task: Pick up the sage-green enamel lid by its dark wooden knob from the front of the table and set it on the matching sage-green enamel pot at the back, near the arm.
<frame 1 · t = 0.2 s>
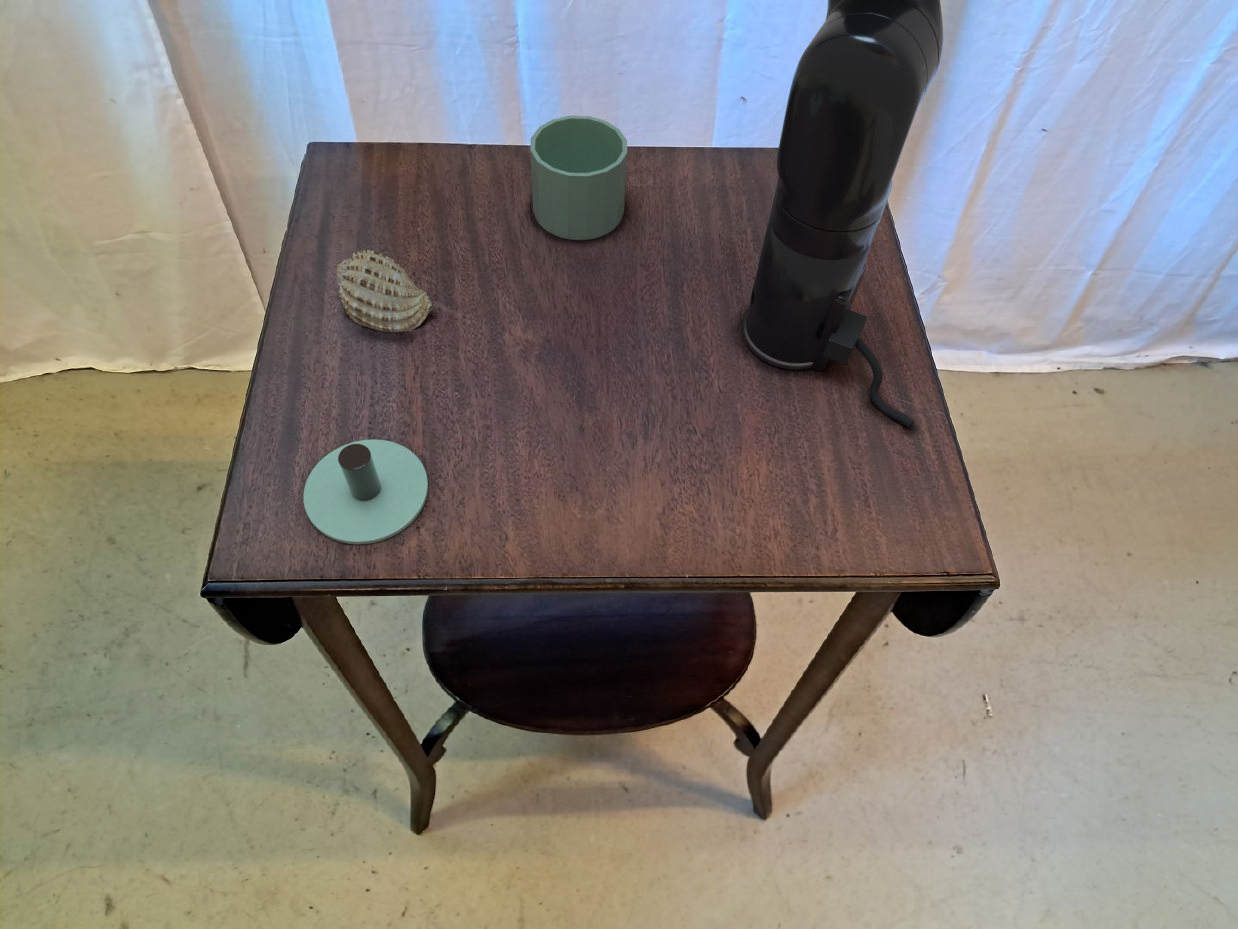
lid: (367, 491, 76), point 1 cm above the table
pot: (578, 209, 98), on the table
seashell: (387, 308, 89), on the table
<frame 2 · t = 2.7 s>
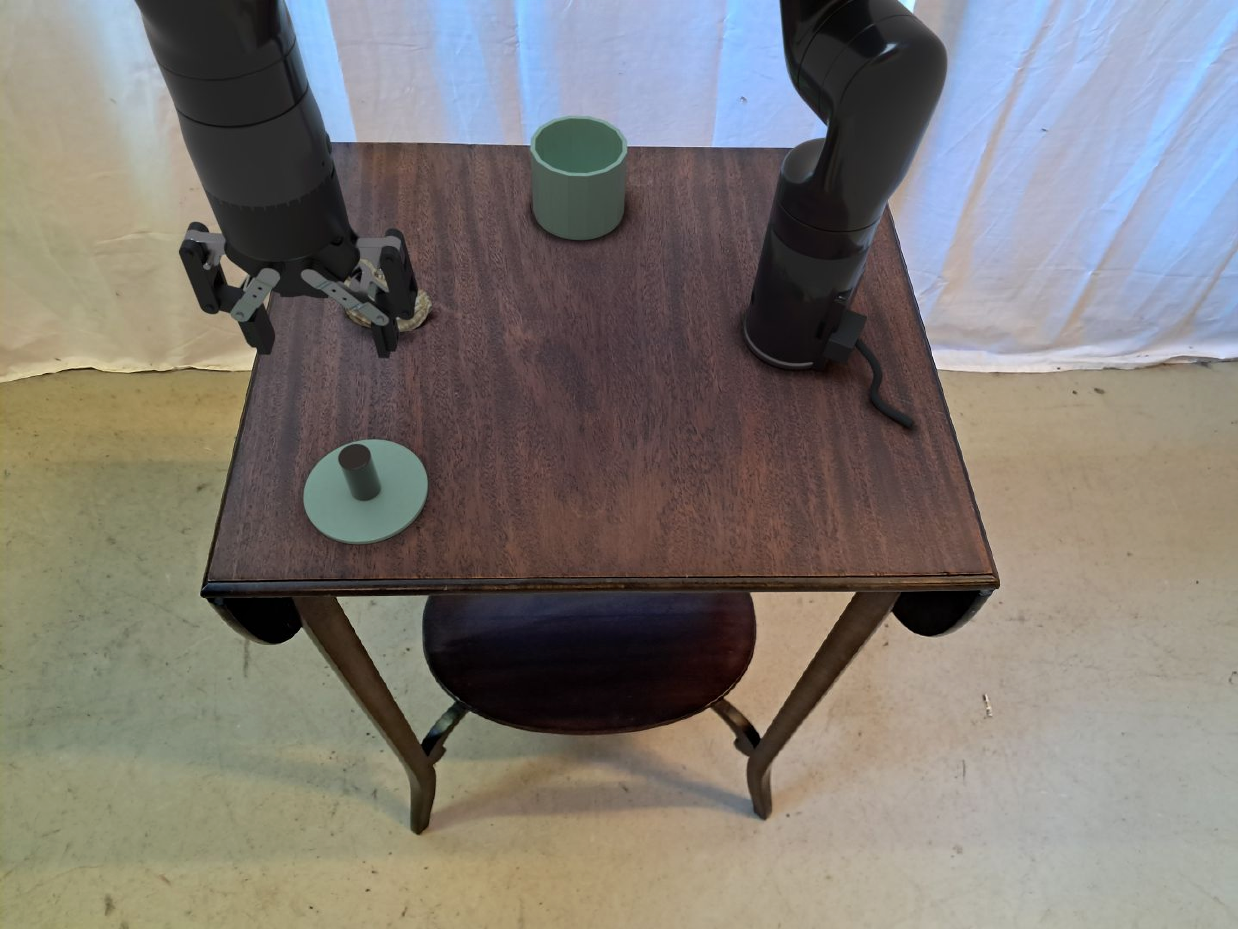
hand: (327, 348, 64), 16 cm above the table, tool pointing down, fingers open, 8 cm apart
nothing on the table moved.
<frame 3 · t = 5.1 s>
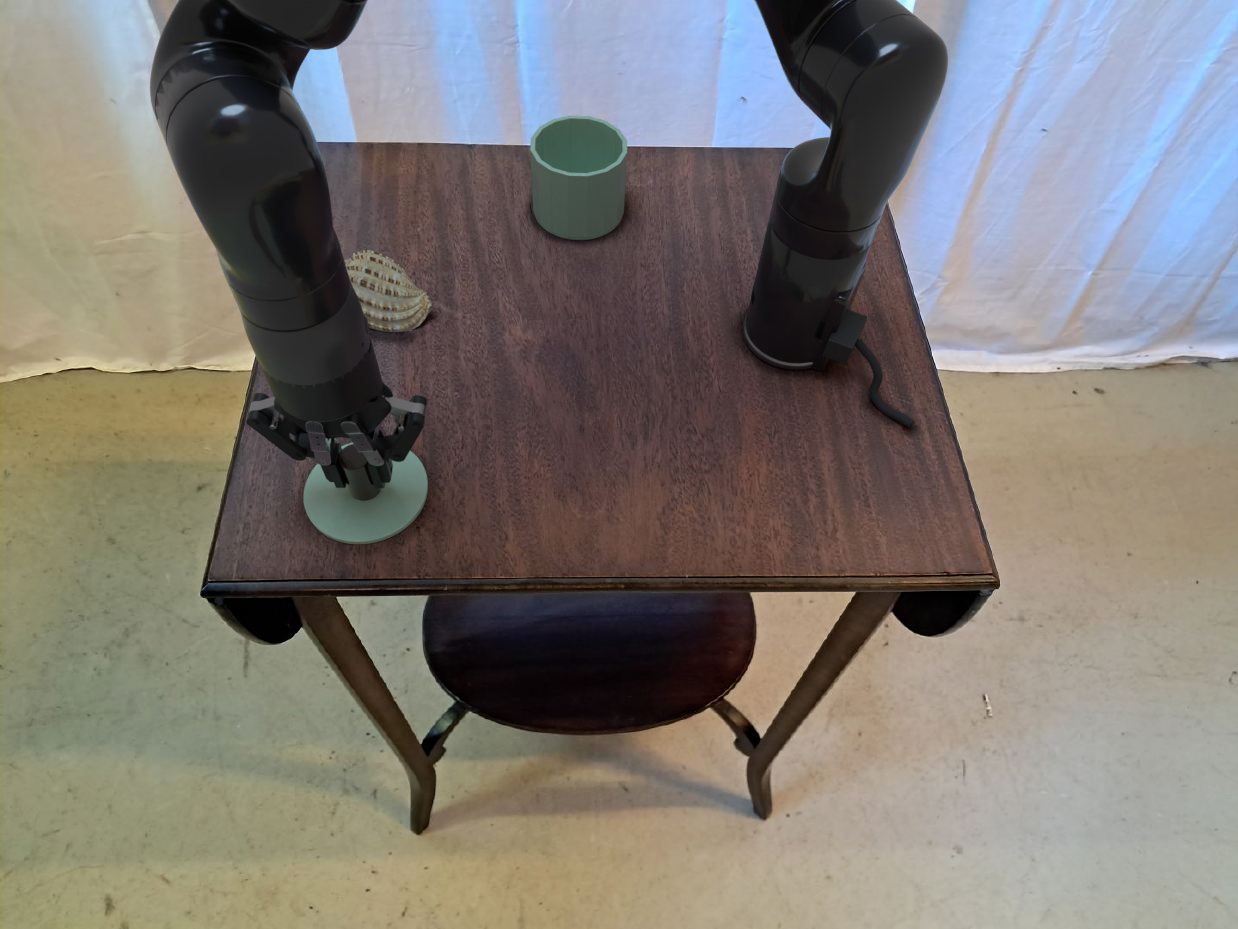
hand: (362, 478, 74), 3 cm above the table, tool pointing down, fingers closed on lid, 2 cm apart
lid: (367, 491, 76), point 1 cm above the table, touching gripper
everything else where it was.
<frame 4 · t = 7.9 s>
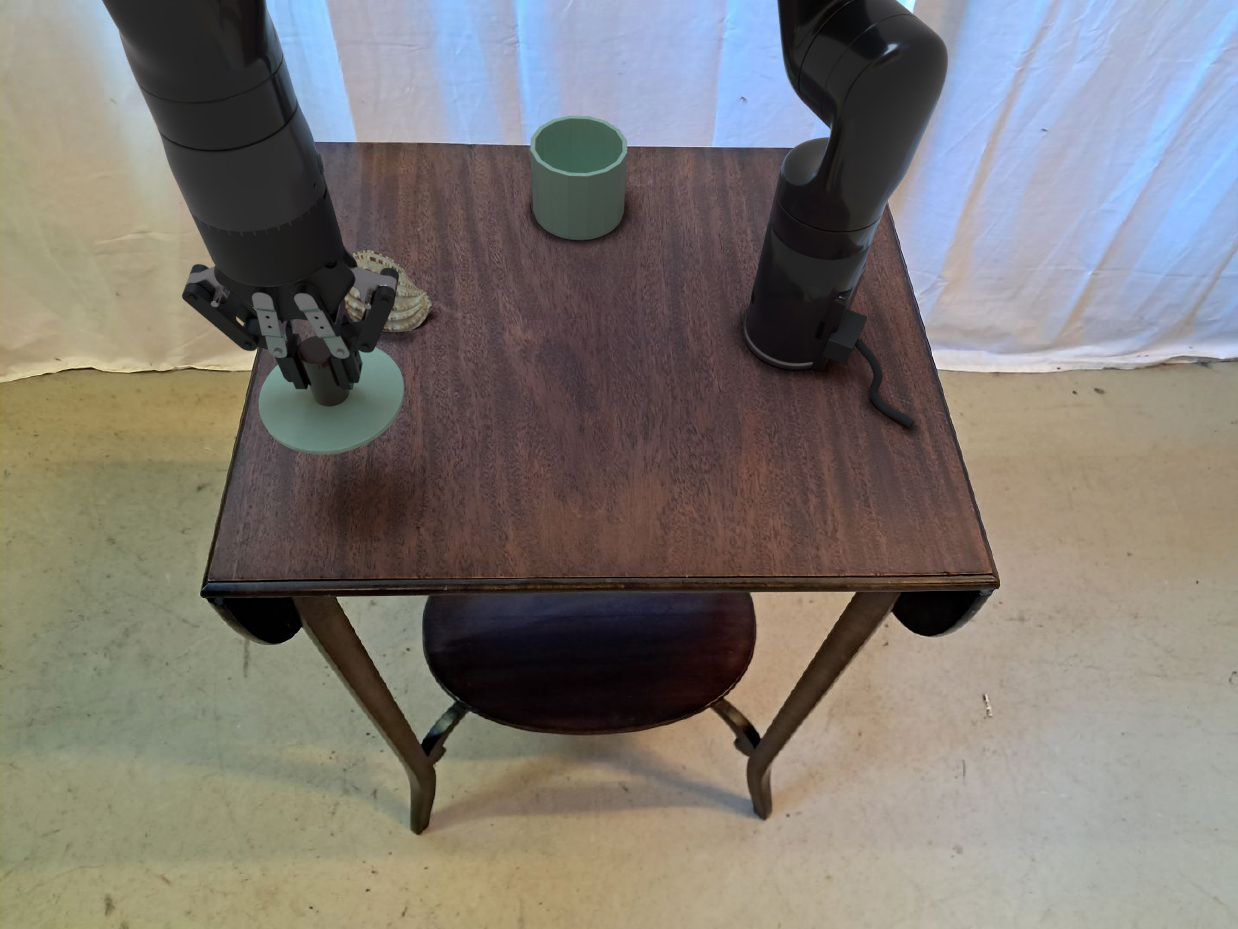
hand: (327, 379, 63), 16 cm above the table, tool pointing down, fingers closed on lid, 2 cm apart
lid: (333, 397, 65), point 14 cm above the table, touching gripper
everything else where it was.
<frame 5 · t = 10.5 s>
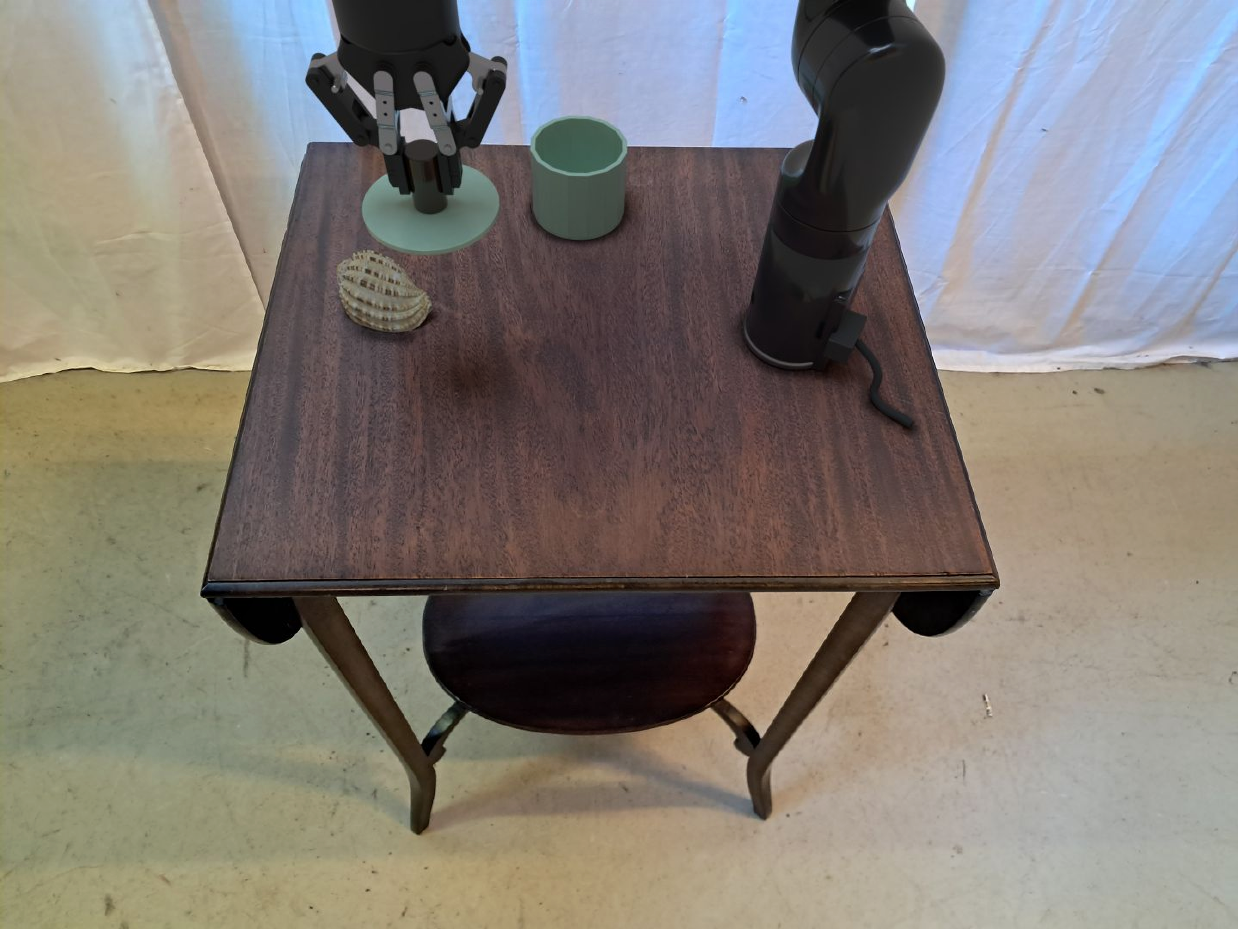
hand: (428, 187, 66), 22 cm above the table, tool pointing down, fingers closed on lid, 2 cm apart
lid: (431, 208, 68), point 20 cm above the table, touching gripper
everything else where it was.
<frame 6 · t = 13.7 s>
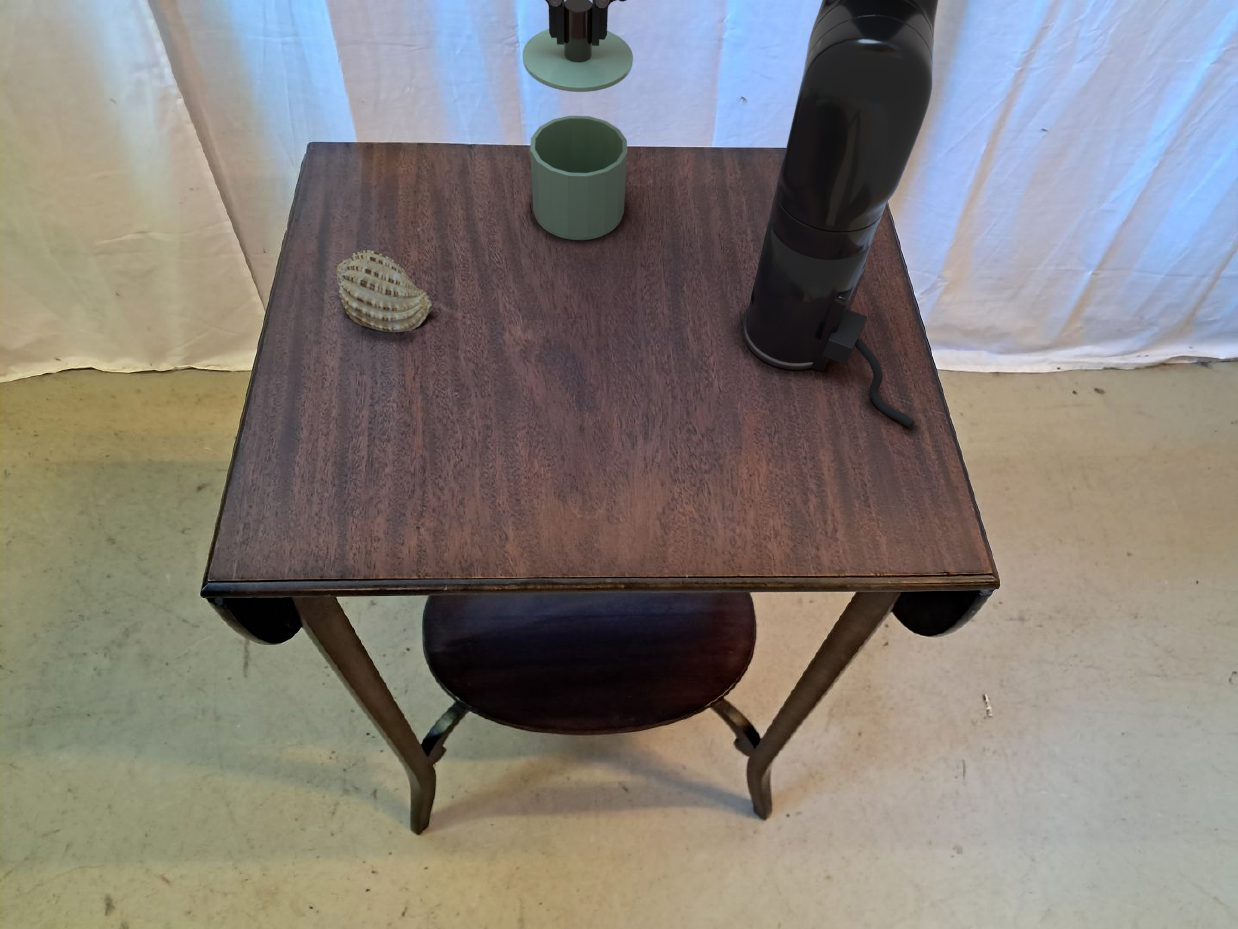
hand: (578, 39, 82), 20 cm above the table, tool pointing down, fingers closed on lid, 2 cm apart
lid: (577, 59, 83), point 18 cm above the table, touching gripper
everything else where it was.
when the fingers open (10 cm above the table, at t = 16.0 s): lid stays where it is, resting on pot.
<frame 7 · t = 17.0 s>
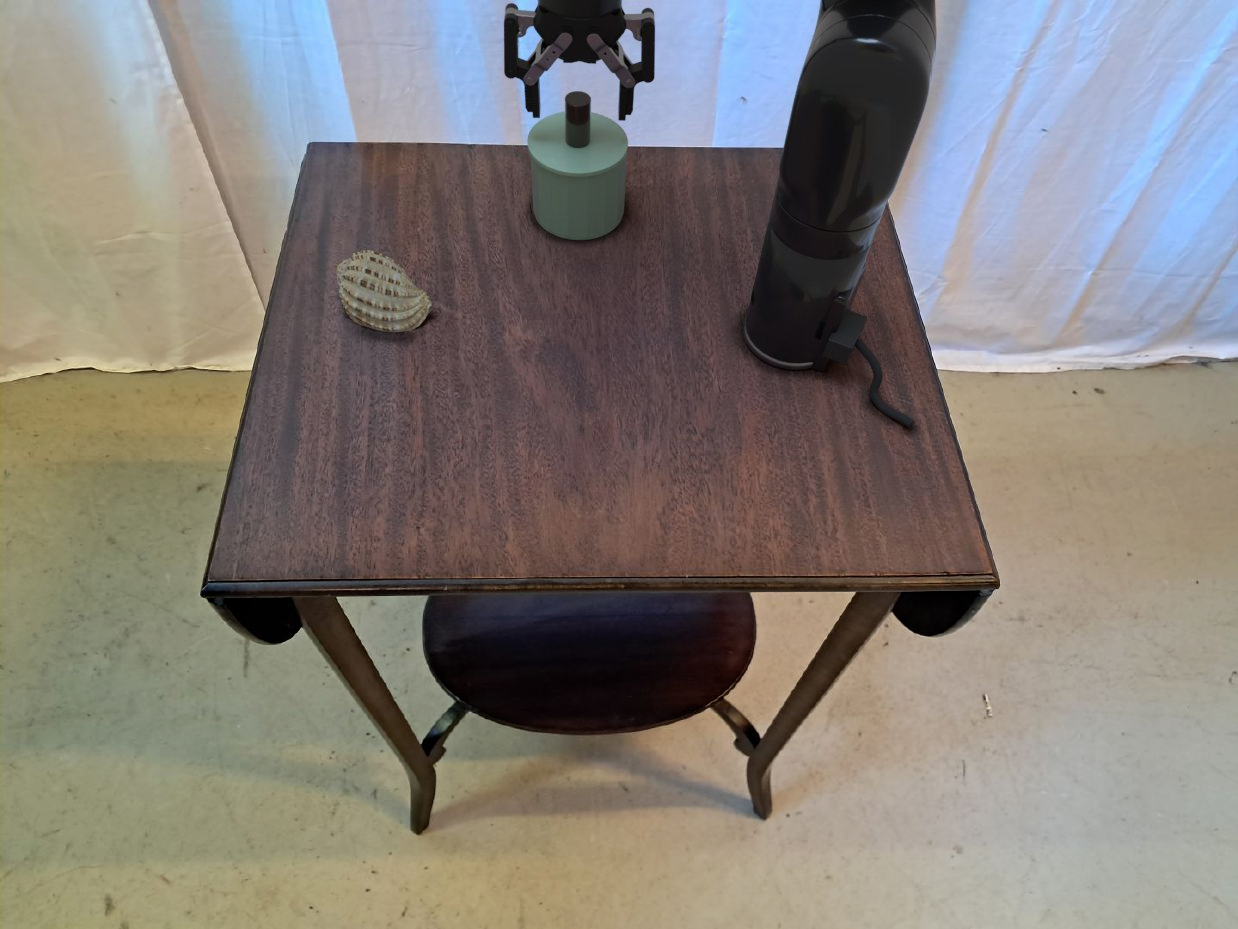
hand: (579, 114, 88), 12 cm above the table, tool pointing down, fingers open, 8 cm apart
lid: (577, 144, 91), point 8 cm above the table, touching pot
everything else where it was.
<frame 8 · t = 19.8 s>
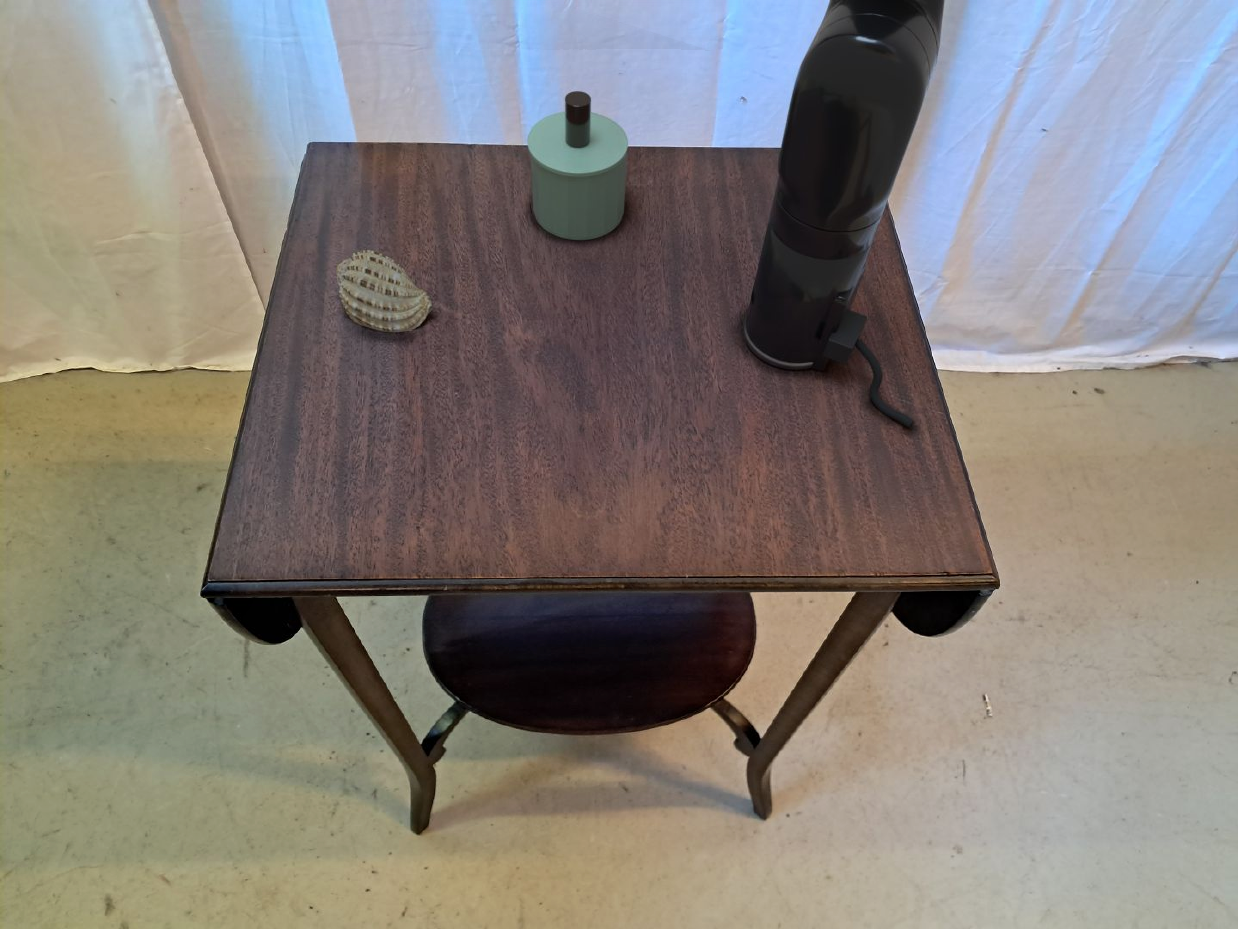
nothing on the table moved.
at the end: lid 0.1 cm off-centre on the pot, point 8.4 cm above the pot's base; lid tilted 0°; the gripper is holding nothing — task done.
